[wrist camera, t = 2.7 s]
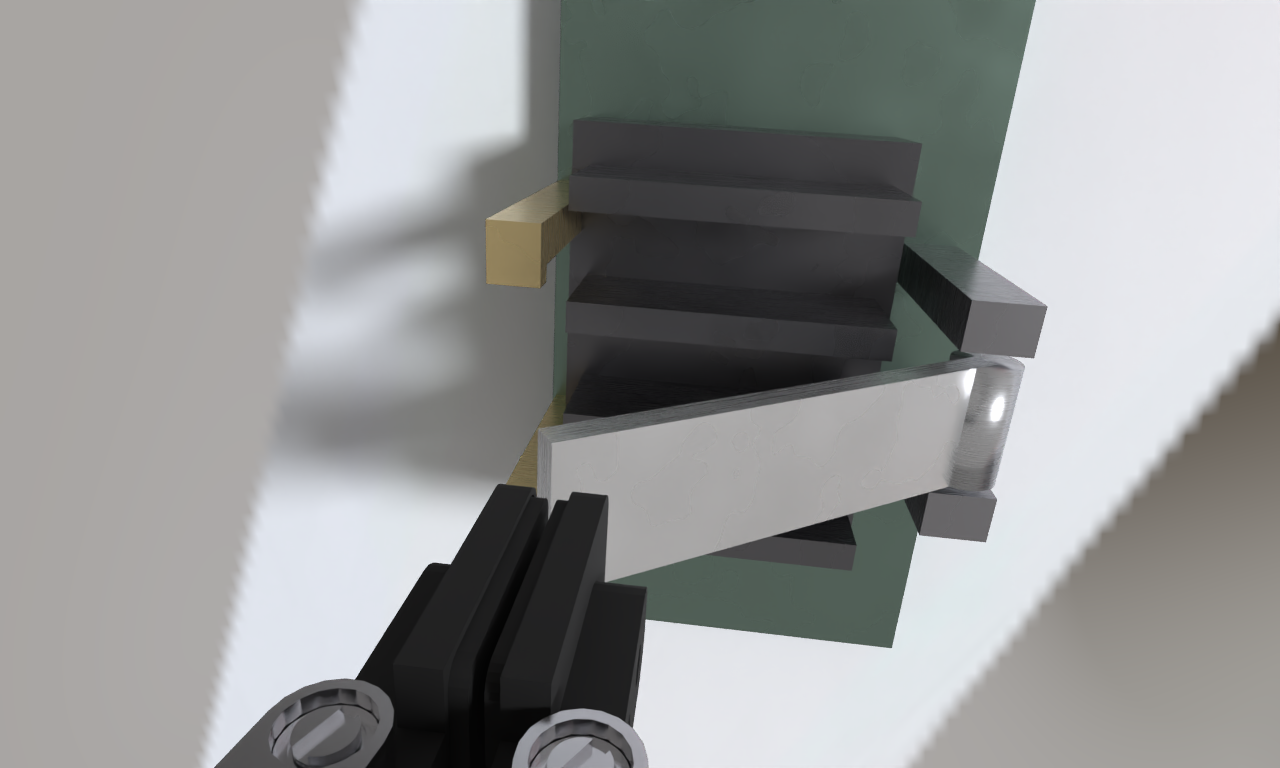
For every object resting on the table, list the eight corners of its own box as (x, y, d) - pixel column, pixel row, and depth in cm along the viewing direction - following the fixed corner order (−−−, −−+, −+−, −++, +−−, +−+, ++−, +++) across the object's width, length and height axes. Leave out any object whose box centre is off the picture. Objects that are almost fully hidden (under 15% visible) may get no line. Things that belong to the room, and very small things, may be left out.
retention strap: (526, 417, 13) (564, 456, 12) (980, 346, 19) (1039, 367, 17) (525, 564, 14) (559, 614, 13) (955, 455, 20) (1009, 483, 19)
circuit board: (572, -109, 22) (474, -237, 13) (1039, -87, 21) (1256, -211, 12) (555, 589, 31) (489, 781, 22) (885, 627, 30) (950, 844, 21)
